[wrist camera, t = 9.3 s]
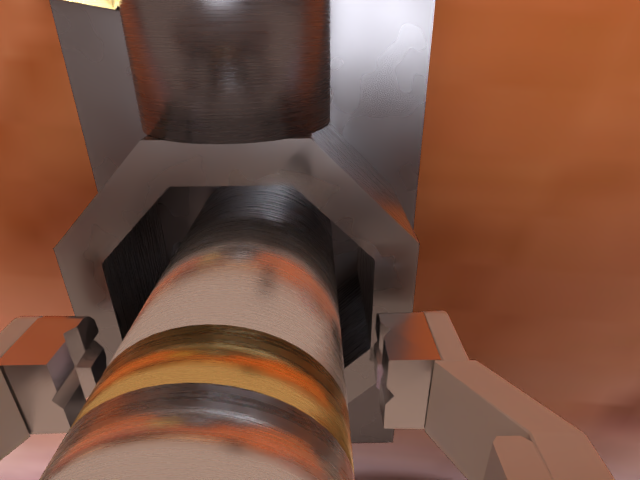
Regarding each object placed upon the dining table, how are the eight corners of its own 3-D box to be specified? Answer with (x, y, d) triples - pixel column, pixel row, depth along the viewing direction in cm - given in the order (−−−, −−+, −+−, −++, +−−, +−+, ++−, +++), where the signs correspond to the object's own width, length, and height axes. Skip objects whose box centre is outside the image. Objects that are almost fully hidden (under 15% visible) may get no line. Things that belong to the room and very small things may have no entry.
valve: (332, 172, 13) (372, 473, 4) (331, 292, 15) (359, 671, 6) (188, 174, 13) (-68, 483, 4) (206, 294, 15) (56, 678, 6)
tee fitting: (439, -145, 11) (540, -283, 6) (389, 423, 20) (413, 553, 15) (34, -142, 11) (-196, -277, 6) (169, 426, 20) (121, 557, 15)
